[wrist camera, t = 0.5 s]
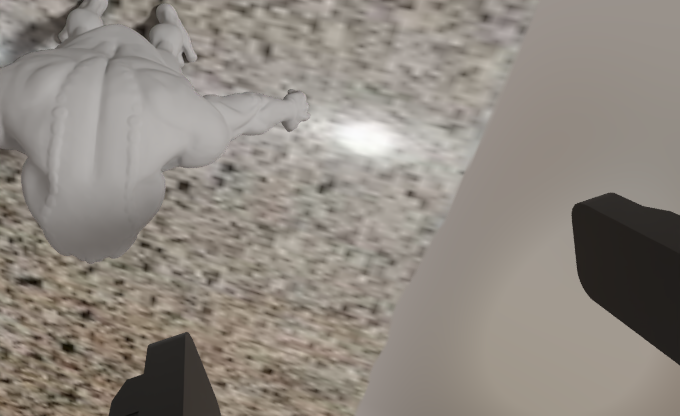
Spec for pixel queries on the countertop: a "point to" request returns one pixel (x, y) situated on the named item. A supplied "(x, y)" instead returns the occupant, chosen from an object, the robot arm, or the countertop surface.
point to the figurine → (117, 127)
